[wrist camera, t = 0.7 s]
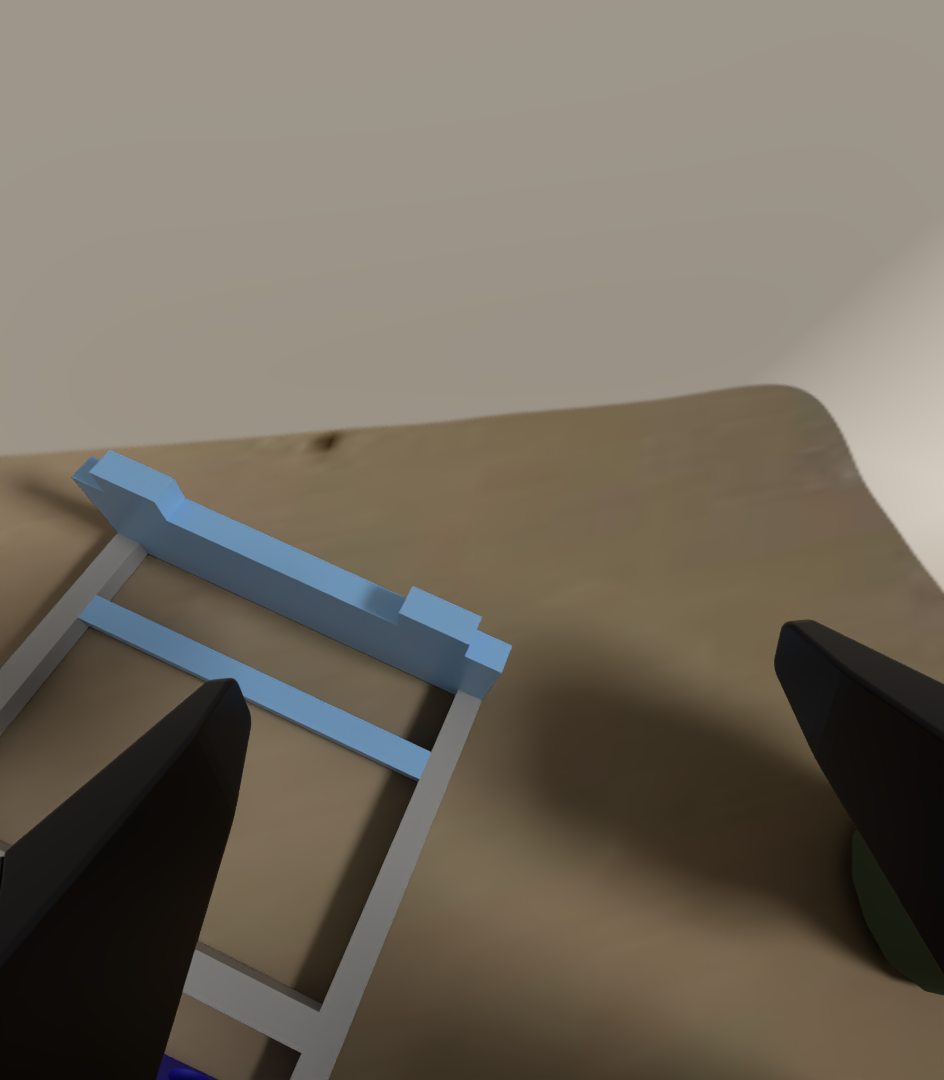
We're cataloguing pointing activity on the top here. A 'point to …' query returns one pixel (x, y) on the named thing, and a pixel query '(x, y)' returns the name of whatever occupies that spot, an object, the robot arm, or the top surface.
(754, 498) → the top surface
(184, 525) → the blue grey rack
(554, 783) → the top surface
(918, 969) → the character mug
